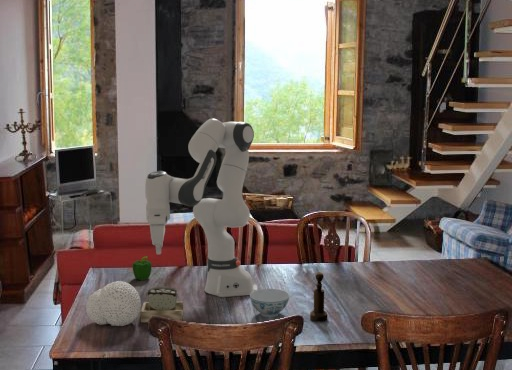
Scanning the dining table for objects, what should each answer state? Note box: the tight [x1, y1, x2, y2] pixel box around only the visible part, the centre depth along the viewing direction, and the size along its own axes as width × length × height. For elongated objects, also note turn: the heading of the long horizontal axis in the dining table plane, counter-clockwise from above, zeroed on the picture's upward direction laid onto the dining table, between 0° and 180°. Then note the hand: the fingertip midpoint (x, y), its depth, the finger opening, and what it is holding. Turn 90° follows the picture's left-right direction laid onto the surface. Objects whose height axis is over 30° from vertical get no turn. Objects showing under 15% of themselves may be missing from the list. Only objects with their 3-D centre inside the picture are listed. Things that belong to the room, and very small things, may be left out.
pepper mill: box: [309, 272, 328, 323], centre depth 257 cm, size 7×6×18 cm
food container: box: [145, 286, 179, 310], centre depth 259 cm, size 12×6×10 cm, turn 81°
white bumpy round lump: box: [85, 280, 142, 327], centre depth 251 cm, size 20×18×16 cm
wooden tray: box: [140, 301, 184, 323], centre depth 259 cm, size 15×10×4 cm
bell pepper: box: [132, 256, 153, 281], centre depth 306 cm, size 8×8×10 cm
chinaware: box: [249, 288, 290, 318], centre depth 263 cm, size 15×15×8 cm
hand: (159, 250), depth 261 cm, fingers open, 8 cm apart
